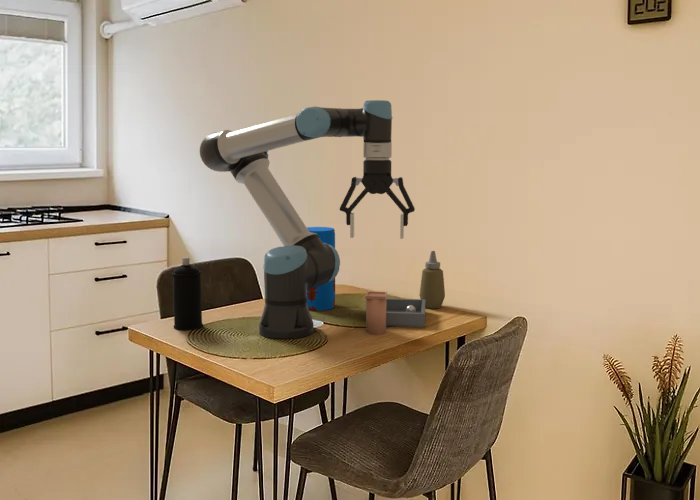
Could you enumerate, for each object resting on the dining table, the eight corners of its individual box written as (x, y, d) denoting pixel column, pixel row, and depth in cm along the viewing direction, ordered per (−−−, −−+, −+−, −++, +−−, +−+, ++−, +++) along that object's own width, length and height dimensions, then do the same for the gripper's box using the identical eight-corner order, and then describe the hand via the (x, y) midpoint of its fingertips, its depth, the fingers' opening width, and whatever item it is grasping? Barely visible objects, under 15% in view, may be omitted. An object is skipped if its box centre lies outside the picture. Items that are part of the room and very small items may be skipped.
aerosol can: (196, 331, 202) (193, 260, 198) (168, 329, 203) (165, 259, 200) (207, 323, 210) (205, 255, 206) (181, 322, 211) (178, 254, 208)
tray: (368, 325, 207) (368, 312, 207) (373, 310, 225) (373, 298, 224) (424, 327, 205) (424, 313, 205) (425, 312, 223) (425, 299, 222)
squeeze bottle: (415, 308, 228) (416, 252, 225) (424, 302, 235) (425, 248, 232) (439, 311, 224) (440, 254, 221) (448, 305, 231) (449, 250, 228)
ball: (409, 317, 215) (416, 310, 214) (402, 310, 216) (409, 303, 215) (412, 316, 218) (419, 309, 217) (405, 309, 219) (412, 302, 218)
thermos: (296, 309, 226) (295, 230, 222) (308, 301, 237) (307, 226, 232) (329, 311, 223) (328, 231, 219) (339, 304, 233) (339, 227, 229)
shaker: (365, 334, 198) (365, 296, 197) (367, 328, 204) (367, 291, 202) (385, 334, 198) (385, 296, 196) (386, 329, 203) (387, 292, 202)
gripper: (329, 159, 191) (329, 238, 195) (423, 159, 188) (422, 240, 192) (333, 158, 198) (333, 234, 202) (424, 158, 195) (423, 236, 199)
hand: (376, 237), depth 197 cm, fingers open, 13 cm apart
